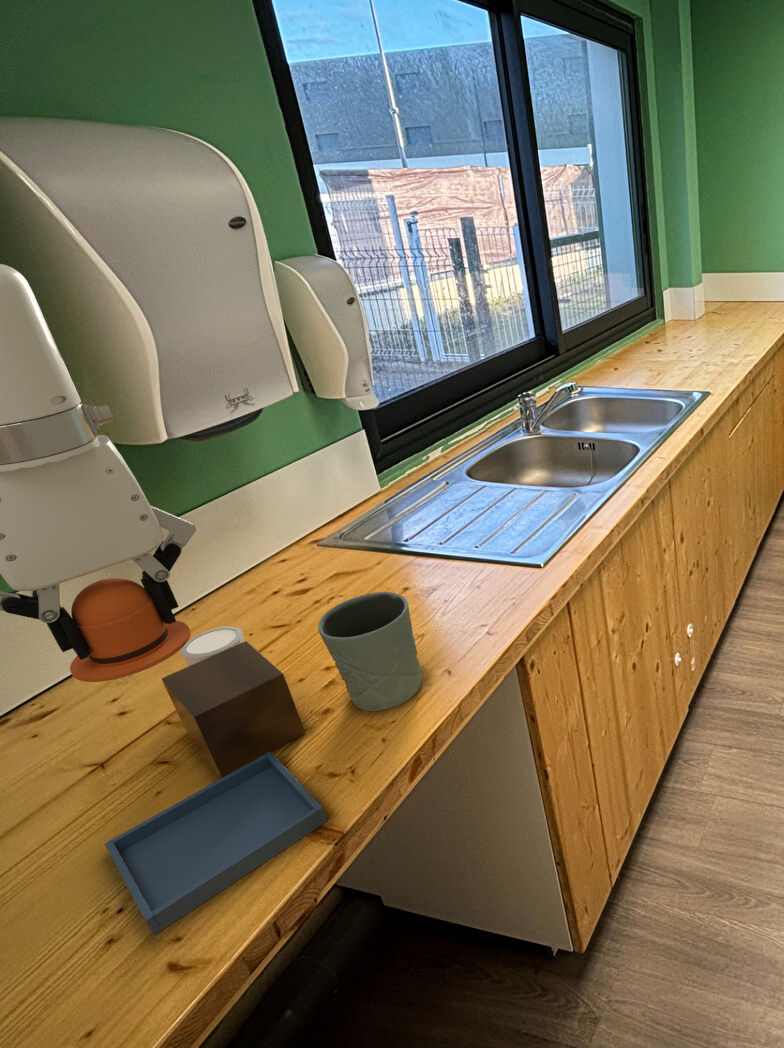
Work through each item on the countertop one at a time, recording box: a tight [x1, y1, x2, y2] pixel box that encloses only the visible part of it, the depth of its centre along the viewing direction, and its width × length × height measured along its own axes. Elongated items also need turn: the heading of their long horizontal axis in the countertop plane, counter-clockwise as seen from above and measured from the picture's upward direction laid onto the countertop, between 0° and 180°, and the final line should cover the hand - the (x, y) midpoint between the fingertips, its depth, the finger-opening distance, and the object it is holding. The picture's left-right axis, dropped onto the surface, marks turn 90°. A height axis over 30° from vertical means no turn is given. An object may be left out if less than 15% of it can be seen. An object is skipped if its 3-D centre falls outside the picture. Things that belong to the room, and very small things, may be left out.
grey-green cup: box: [317, 591, 423, 712], centre depth 89 cm, size 10×10×12 cm
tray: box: [104, 751, 329, 936], centre depth 71 cm, size 15×13×2 cm
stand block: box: [161, 640, 306, 779], centre depth 83 cm, size 9×11×9 cm
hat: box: [69, 577, 192, 683], centre depth 60 cm, size 8×8×7 cm
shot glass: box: [180, 626, 246, 667], centre depth 92 cm, size 7×7×7 cm
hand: (124, 633), depth 60 cm, fingers closed on hat, 5 cm apart
